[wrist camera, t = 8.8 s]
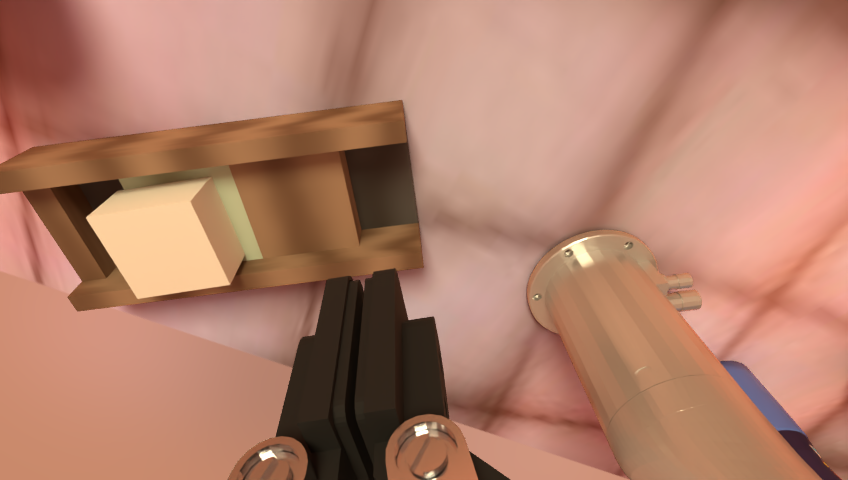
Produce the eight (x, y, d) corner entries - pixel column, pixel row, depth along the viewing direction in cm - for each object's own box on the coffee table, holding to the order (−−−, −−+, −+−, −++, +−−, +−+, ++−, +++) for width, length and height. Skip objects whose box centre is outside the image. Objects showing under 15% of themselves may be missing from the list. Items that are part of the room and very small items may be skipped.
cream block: (210, 176, 32) (190, 201, 29) (245, 254, 36) (230, 284, 33) (117, 190, 32) (85, 217, 29) (161, 267, 36) (137, 298, 33)
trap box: (402, 100, 33) (404, 120, 29) (420, 234, 40) (423, 267, 35) (32, 147, 33) (-20, 174, 29) (110, 274, 40) (77, 311, 35)
